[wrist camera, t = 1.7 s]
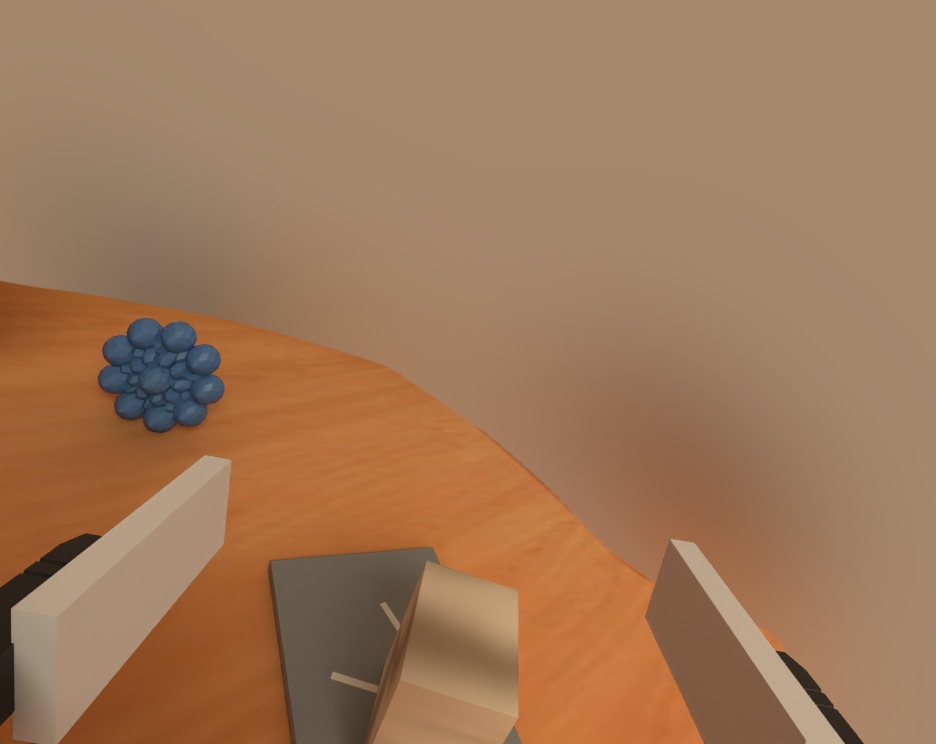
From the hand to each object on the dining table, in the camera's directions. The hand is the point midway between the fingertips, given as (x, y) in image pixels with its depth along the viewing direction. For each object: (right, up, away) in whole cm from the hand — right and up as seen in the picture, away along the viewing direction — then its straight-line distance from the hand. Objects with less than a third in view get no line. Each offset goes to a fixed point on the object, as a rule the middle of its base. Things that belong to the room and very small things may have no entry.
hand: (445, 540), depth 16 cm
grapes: (-29, 0, +36) cm, 47 cm away
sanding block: (-3, -18, +17) cm, 25 cm away
